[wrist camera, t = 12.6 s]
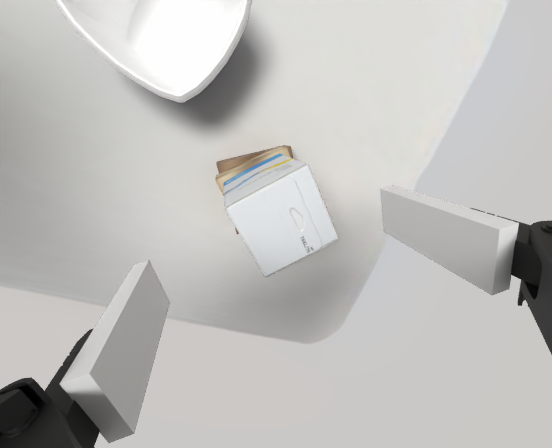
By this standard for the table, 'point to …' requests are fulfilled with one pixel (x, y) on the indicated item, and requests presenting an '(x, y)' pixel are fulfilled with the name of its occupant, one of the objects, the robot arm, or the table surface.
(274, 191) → the ink box
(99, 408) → the robot arm
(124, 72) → the bowl
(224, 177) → the tower top
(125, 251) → the table surface
